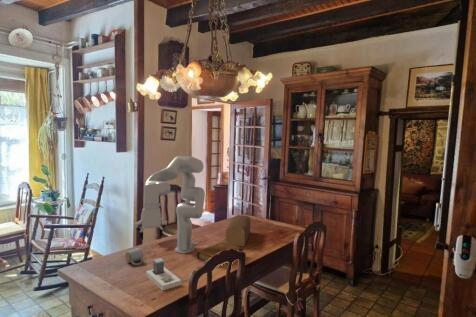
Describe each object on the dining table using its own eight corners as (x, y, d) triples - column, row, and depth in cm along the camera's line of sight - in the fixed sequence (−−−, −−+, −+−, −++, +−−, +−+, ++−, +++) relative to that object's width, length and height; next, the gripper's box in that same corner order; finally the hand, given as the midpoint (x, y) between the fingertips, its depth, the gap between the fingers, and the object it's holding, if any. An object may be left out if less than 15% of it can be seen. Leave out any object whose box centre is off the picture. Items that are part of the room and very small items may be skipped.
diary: (222, 249, 205) (222, 241, 205) (243, 257, 193) (243, 248, 193) (196, 259, 187) (196, 250, 187) (218, 268, 175) (218, 258, 175)
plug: (160, 274, 165) (160, 257, 165) (163, 276, 162) (163, 260, 161) (153, 276, 163) (153, 259, 162) (156, 278, 160) (156, 262, 159)
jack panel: (163, 271, 169) (163, 266, 169) (181, 284, 154) (181, 280, 153) (146, 275, 163) (146, 271, 162) (162, 290, 147) (162, 285, 147)
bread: (250, 232, 243) (251, 215, 242) (245, 247, 209) (245, 227, 208) (233, 231, 245) (233, 214, 244) (225, 245, 211) (225, 225, 210)
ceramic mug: (124, 261, 180) (124, 248, 180) (137, 258, 186) (137, 245, 185) (132, 267, 173) (132, 254, 172) (145, 263, 178) (145, 251, 178)
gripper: (165, 203, 169) (164, 233, 170) (133, 206, 160) (132, 238, 161) (169, 206, 162) (168, 237, 163) (135, 209, 154) (135, 242, 155)
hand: (150, 237), depth 162 cm, fingers open, 9 cm apart
